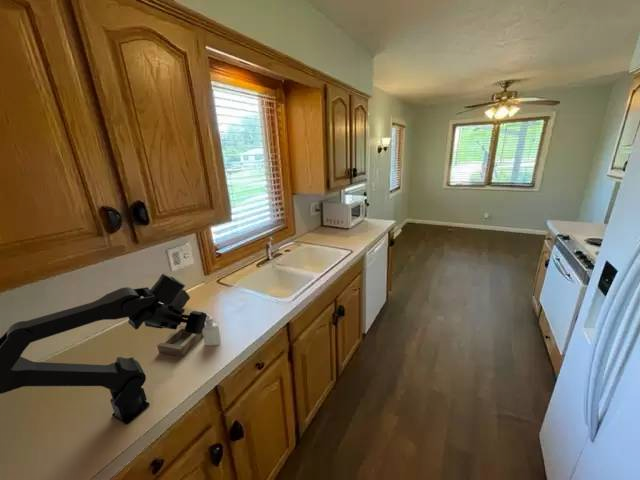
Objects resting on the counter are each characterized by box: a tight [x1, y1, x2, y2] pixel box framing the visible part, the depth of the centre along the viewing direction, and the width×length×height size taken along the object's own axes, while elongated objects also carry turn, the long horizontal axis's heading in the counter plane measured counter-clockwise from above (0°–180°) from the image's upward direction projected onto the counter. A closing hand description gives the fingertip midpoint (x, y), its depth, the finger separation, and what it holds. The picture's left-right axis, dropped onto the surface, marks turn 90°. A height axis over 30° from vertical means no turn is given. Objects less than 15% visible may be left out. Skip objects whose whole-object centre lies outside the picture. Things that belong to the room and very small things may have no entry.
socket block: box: [157, 325, 204, 359], centre depth 100 cm, size 12×10×4 cm
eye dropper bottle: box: [202, 314, 222, 347], centre depth 99 cm, size 4×6×12 cm
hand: (192, 324), depth 90 cm, fingers open, 9 cm apart
